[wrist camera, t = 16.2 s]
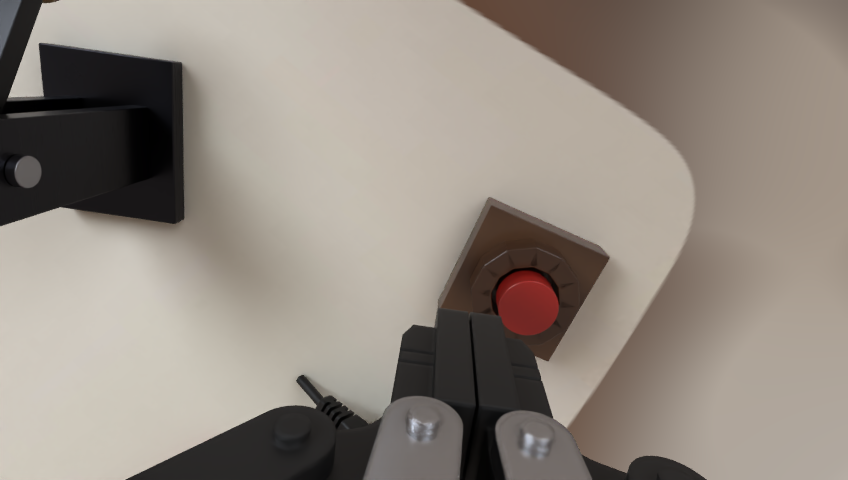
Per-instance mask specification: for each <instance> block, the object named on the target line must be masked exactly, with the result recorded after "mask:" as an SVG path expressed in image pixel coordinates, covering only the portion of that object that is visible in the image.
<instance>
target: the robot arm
mask: <svg viewBox="0 0 848 480" xmlns="http://www.w3.org/2000/svg"><path fill="white" fill-rule="evenodd" d="M126 480H706V479H705V478H704V477H702V476H701V475H699V474H698V473H696V472H695V471H693V470H692V469H690V468H688V467H686V466H685V465H682V464H680V463H678V462H676V461H673V460H670V459H667V458H663V457H658V456H643V457H639V458H637V459H635V460H634V461H633V462H632V463H631V464H630V466H629V469H628V472H627V473H625V472H622V471H619V470H616V469H614V468H611V467H608V466H606V465H603V464H600V463H598V462H595V461H593V460H590V459H589V458H587V457H585V456H583V455H582V454H581V453H580V450H579V448H578V446H577V443H576V441H575V439H574V437H573V436H572V434H571V433H570V432H569V431H568V430H567V429H566V428H565V427H564V426H563V425H562V424H560V423H559V422H558V421H556V420H554V419H553V416H552V413H551V409H550V406H549V403H548V399H547V396H546V393H545V389H544V386H543V383H542V381H541V376H540V373H539V369H538V366H537V363H536V359H535V356H534V353H533V352H532V351H531V350H530V349H529V347H528V346H527V345H526V344H525V343H524V342H523V341H522V340H520V339H513V338H506V337H505V332H504V328H503V323H502V318H501V316H496V315H489V314H482V313H475V312H470V313H469V314H468V312H467V311H459V310H452V309H445V308H438V309H437V315H436V321H435V328H433V327H425V326H418V325H413V326H412V327H411V328H410V329H408V330H407V331H406V332H405V333H404V334H403V336H402V341H401V347H400V353H399V358H398V364H397V370H396V375H395V381H394V387H393V392H392V398H391V403H390V405H389V406H388V407H387V408H386V409H385V411H384V413H383V416H382V417H381V418H380V419H379V420H377V421H375V422H374V423H372V424H369V425H367V426H363V427H360V428H354V429H345V430H336V427H335V425H334V423H333V421H332V420H331V419H330V418H329V417H328V416H327V415H326V414H324V413H323V412H321V411H319V410H317V409H314V408H311V407H306V406H296V405H295V406H284V407H279V408H276V409H273V410H270V411H268V412H266V413H263V414H261V415H259V416H257V417H255V418H253V419H251V420H249V421H247V422H245V423H243V424H241V425H238V426H236V427H234V428H232V429H230V430H228V431H226V432H224V433H222V434H220V435H218V436H216V437H213V438H211V439H209V440H207V441H205V442H203V443H201V444H199V445H197V446H195V447H193V448H191V449H188V450H186V451H184V452H182V453H180V454H178V455H176V456H174V457H172V458H170V459H168V460H166V461H164V462H161V463H159V464H157V465H155V466H153V467H151V468H149V469H147V470H145V471H143V472H141V473H139V474H136V475H134V476H132V477H130V478H128V479H126Z"/></svg>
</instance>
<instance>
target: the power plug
mask: <svg viewBox="0 0 848 480" xmlns="http://www.w3.org/2000/svg"><path fill="white" fill-rule="evenodd" d="M296 381H297V383H298V384H299V385H300V386H301V387H302V389H303V390H304V391H305V392H306V393H307V394H308V396H309V397H310V398H311V399H312V400H313V401H314V403H315V404H316V405H317V407H316V409H317V410H319V411H321V412H323V413H324V414H326V415H327V416H328V417H329V418H330V419H331V420H332V421H333V423H334V425H335V427H336V430H345V429H354V428H360V427H363V426H367V425H368V423H367V422H366V421H365V420H363V419H362V418H361V417H359V416H358V415H354V412H353V411H351V410H350V411H347V410H348V408H347V407H346V406H342V403H341V402H339V401H338V402H336V401H337V399H335V398H334V397H333V396H327V397H324V398H323V397H322V395H321V394H320V393H319V392H318V391H317V390H316V389H315V387H314V386H313V385H312V384H311V383H310V382H309V381H308V379H307V378H306V377H305V376H304V375H301V376H299V377H298V378H297V380H296ZM341 406H342V407H341ZM353 415H354V416H353Z"/></svg>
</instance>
